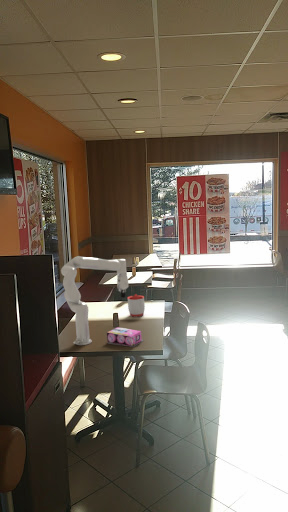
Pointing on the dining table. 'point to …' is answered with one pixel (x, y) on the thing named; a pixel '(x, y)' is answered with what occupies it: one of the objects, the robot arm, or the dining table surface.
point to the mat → (126, 345)
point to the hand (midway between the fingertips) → (123, 297)
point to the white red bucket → (136, 305)
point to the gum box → (124, 336)
